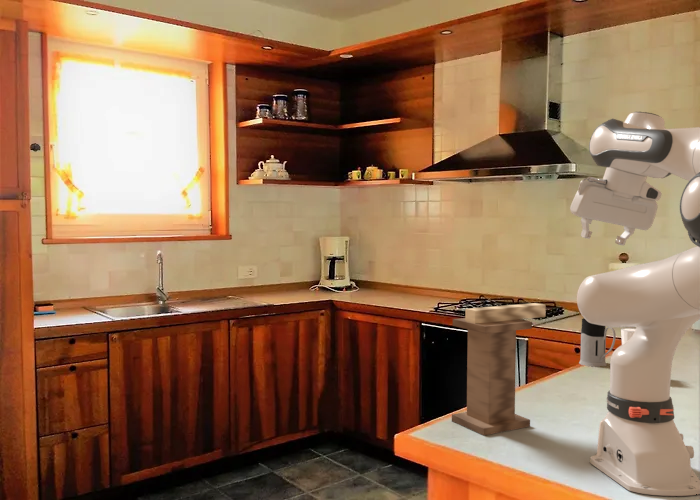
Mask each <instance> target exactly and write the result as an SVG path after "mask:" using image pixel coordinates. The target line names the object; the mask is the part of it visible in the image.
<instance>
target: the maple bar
mask: <svg viewBox="0 0 700 500" xmlns="http://www.w3.org/2000/svg"><path fill="white" fill-rule="evenodd" d="M546 306H547V305H546V304H543V303H538V302H534V303H533V302H532V303H519V304H509V305H508V304H507V305H496V306H495V305H494V306H484V307H483V306H482V307H472V308H465V316H464V318H465V321H466V322H470V323H474V324H476V323H486V322H497V321H507V320H517V319H520V320H525V319H526V320H527V319H537V318H545V317H546V308H547V307H546Z"/></svg>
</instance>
